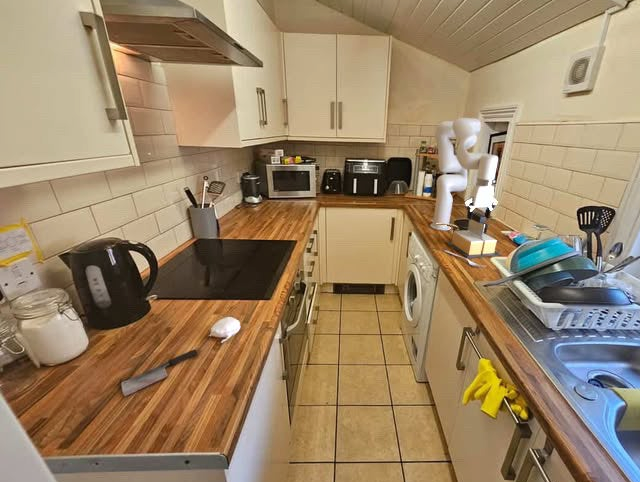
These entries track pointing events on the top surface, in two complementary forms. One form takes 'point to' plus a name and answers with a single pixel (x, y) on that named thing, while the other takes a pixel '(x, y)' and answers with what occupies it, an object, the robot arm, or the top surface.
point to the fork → (466, 259)
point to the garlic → (225, 328)
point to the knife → (477, 224)
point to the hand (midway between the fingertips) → (478, 218)
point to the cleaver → (151, 375)
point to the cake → (473, 244)
